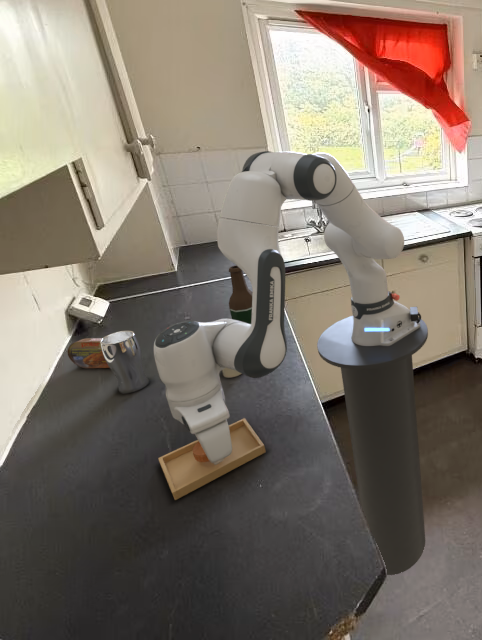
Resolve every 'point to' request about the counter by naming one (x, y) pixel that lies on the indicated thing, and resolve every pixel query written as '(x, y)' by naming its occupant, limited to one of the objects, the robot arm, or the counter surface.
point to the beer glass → (125, 360)
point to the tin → (87, 353)
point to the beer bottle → (240, 297)
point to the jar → (230, 373)
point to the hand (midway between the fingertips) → (213, 452)
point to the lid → (199, 453)
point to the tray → (192, 474)
